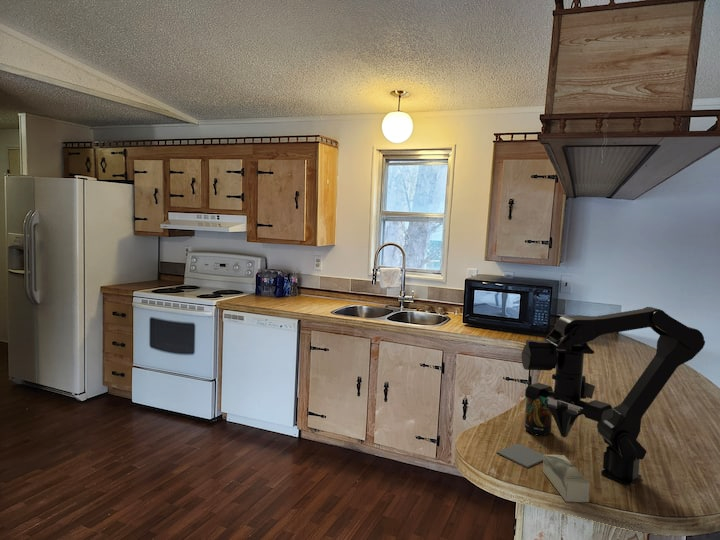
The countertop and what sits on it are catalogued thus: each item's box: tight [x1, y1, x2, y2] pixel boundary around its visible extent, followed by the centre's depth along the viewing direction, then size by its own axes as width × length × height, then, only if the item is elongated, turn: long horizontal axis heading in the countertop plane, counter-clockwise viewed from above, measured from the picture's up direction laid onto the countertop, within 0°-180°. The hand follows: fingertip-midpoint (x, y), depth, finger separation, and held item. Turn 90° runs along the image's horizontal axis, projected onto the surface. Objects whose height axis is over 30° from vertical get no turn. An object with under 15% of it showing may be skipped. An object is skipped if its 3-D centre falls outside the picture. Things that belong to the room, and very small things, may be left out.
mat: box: [496, 443, 545, 469], centre depth 120 cm, size 9×9×1 cm
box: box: [542, 454, 591, 503], centre depth 106 cm, size 5×4×13 cm
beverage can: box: [524, 396, 553, 436], centre depth 136 cm, size 7×7×12 cm
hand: (564, 436), depth 111 cm, fingers closed
